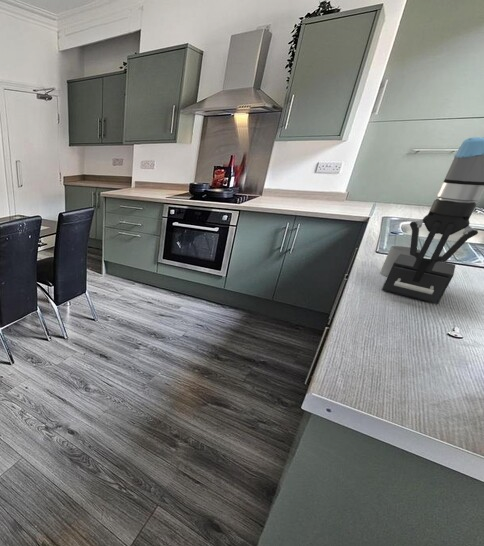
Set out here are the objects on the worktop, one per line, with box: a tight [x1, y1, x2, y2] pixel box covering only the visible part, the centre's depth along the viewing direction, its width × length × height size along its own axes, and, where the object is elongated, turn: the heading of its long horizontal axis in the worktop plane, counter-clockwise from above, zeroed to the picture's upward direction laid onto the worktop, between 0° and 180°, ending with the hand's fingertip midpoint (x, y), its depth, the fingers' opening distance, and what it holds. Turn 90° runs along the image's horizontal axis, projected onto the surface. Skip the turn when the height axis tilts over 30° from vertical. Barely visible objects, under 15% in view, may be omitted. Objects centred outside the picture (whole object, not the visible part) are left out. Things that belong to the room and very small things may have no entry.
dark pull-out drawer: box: [385, 266, 449, 302], centre depth 96 cm, size 18×11×8 cm, turn 130°
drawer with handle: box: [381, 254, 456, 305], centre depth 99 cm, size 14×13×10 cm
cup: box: [379, 245, 421, 278], centre depth 111 cm, size 8×8×10 cm
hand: (416, 280), depth 92 cm, fingers closed
